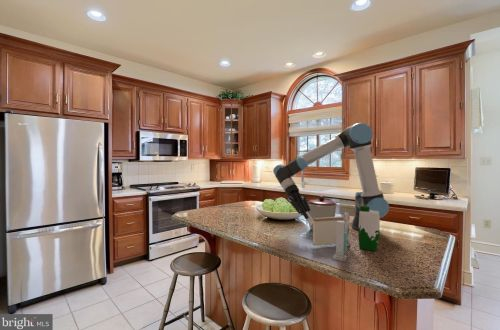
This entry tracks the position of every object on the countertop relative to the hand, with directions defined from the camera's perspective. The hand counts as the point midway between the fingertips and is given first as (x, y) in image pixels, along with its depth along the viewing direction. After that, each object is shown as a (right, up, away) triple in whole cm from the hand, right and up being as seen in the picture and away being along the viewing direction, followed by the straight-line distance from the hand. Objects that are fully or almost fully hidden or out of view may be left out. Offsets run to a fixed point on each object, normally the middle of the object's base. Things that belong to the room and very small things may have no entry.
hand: (312, 223), depth 130 cm
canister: (+10, -9, +22) cm, 26 cm away
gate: (+6, -8, -7) cm, 12 cm away
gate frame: (+11, -10, -13) cm, 20 cm away
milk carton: (+25, -10, -8) cm, 28 cm away
